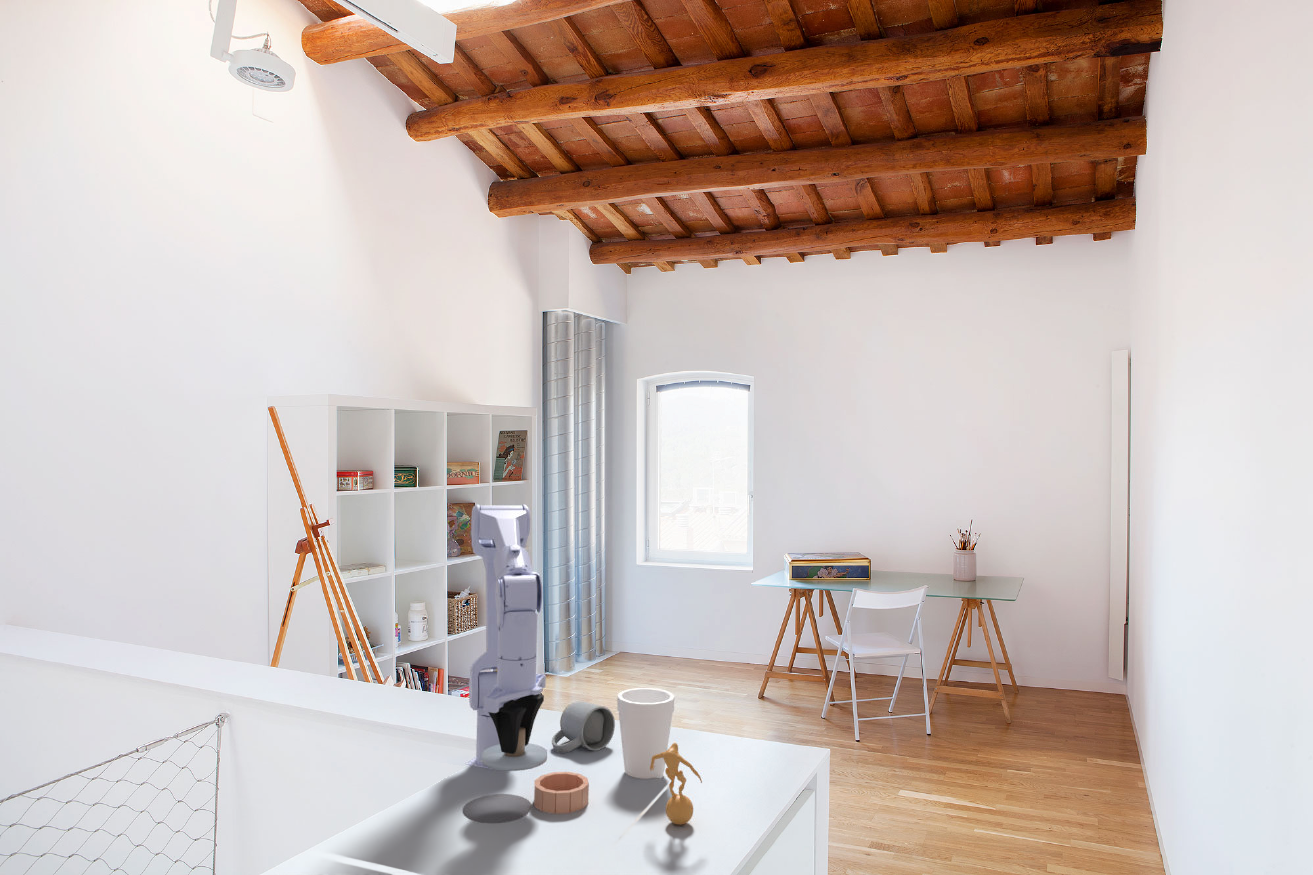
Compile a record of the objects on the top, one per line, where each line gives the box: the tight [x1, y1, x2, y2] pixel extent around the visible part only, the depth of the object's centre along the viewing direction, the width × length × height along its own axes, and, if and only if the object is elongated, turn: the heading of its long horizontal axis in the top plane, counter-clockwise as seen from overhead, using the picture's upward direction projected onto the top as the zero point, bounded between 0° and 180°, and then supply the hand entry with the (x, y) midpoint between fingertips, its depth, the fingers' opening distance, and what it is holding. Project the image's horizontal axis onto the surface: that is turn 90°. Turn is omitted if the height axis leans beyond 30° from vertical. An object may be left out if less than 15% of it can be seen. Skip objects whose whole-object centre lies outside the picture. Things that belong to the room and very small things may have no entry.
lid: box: [481, 727, 548, 772], centre depth 121 cm, size 10×10×4 cm
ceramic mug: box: [551, 700, 616, 754], centre depth 148 cm, size 11×8×8 cm
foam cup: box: [616, 687, 675, 780], centre depth 135 cm, size 10×9×13 cm
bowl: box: [533, 771, 590, 815], centre depth 122 cm, size 8×8×4 cm
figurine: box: [650, 742, 703, 826], centre depth 116 cm, size 8×6×12 cm
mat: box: [462, 793, 533, 824], centre depth 120 cm, size 10×10×1 cm
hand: (514, 748), depth 121 cm, fingers closed on lid, 3 cm apart
